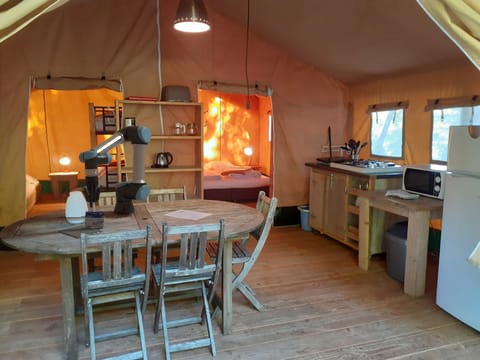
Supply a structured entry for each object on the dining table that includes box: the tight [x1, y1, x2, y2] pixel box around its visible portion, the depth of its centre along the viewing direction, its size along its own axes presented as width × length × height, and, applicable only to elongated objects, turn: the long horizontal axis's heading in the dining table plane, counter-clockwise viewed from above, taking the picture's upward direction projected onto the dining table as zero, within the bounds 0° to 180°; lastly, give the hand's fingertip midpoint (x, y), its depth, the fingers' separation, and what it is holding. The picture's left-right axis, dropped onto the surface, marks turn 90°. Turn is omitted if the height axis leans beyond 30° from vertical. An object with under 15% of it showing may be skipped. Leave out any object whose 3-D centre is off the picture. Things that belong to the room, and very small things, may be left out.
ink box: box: [84, 210, 105, 229], centre depth 235 cm, size 12×2×12 cm, turn 104°
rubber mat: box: [57, 224, 103, 239], centre depth 230 cm, size 16×22×1 cm
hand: (93, 212), depth 236 cm, fingers closed
